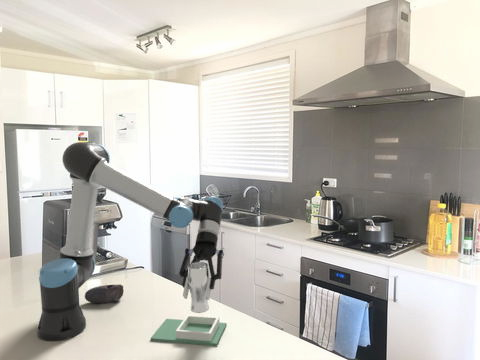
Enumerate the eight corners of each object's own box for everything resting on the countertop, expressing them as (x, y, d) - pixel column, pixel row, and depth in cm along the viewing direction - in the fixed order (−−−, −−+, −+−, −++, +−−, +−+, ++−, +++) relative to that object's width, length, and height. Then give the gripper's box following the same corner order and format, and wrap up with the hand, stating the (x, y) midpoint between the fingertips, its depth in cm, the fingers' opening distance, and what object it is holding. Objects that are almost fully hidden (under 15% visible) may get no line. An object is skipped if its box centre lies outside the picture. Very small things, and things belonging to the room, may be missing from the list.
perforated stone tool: (82, 305, 155) (81, 288, 155) (87, 300, 161) (86, 283, 160) (121, 304, 156) (120, 287, 156) (124, 298, 161) (123, 282, 161)
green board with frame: (150, 340, 127) (150, 330, 127) (166, 320, 141) (166, 311, 141) (216, 346, 123) (216, 335, 123) (226, 325, 137) (226, 316, 137)
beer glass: (200, 302, 136) (198, 260, 134) (214, 308, 131) (212, 264, 129) (184, 309, 131) (182, 266, 129) (199, 315, 126) (196, 270, 124)
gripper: (236, 241, 142) (227, 304, 128) (184, 240, 146) (170, 300, 131) (232, 230, 136) (223, 294, 122) (178, 229, 140) (163, 291, 126)
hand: (195, 297), depth 127 cm, fingers closed on beer glass, 7 cm apart
